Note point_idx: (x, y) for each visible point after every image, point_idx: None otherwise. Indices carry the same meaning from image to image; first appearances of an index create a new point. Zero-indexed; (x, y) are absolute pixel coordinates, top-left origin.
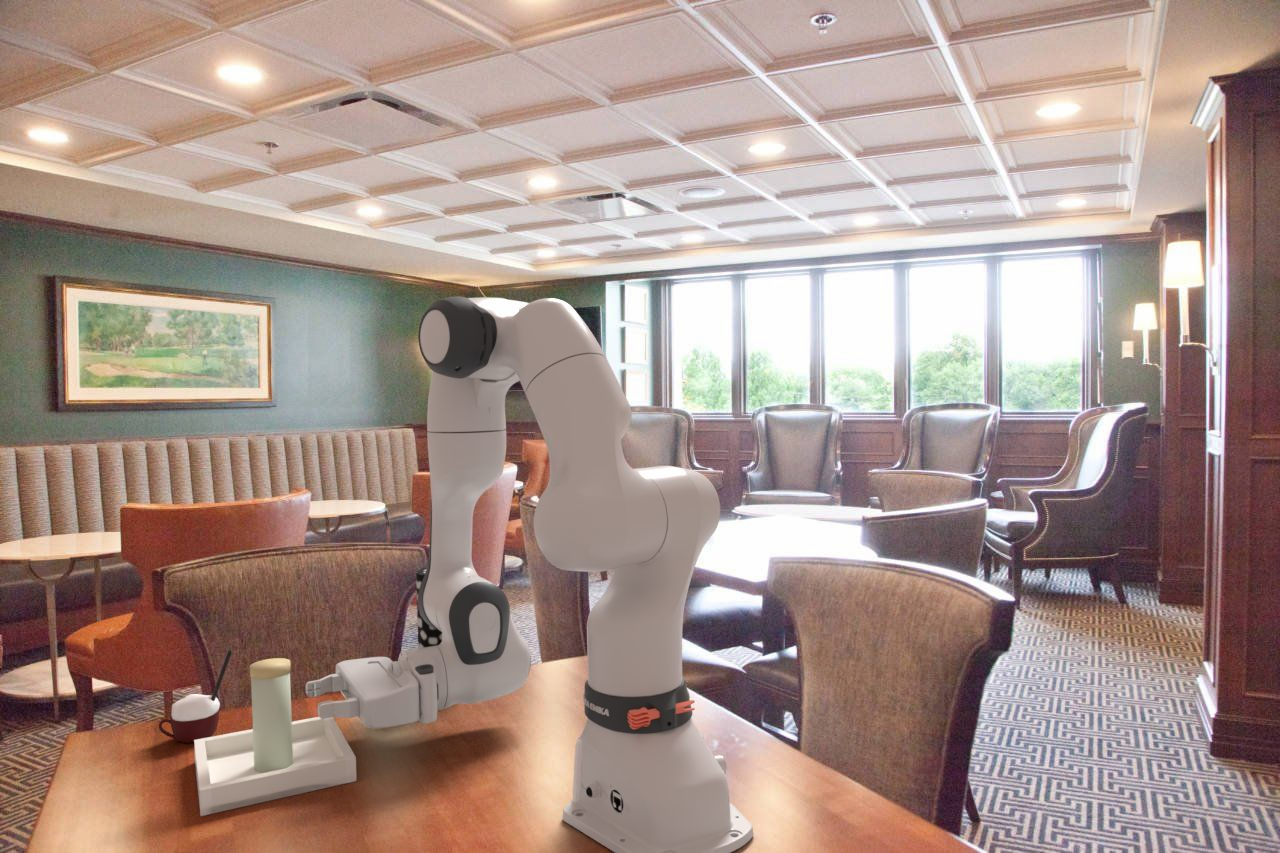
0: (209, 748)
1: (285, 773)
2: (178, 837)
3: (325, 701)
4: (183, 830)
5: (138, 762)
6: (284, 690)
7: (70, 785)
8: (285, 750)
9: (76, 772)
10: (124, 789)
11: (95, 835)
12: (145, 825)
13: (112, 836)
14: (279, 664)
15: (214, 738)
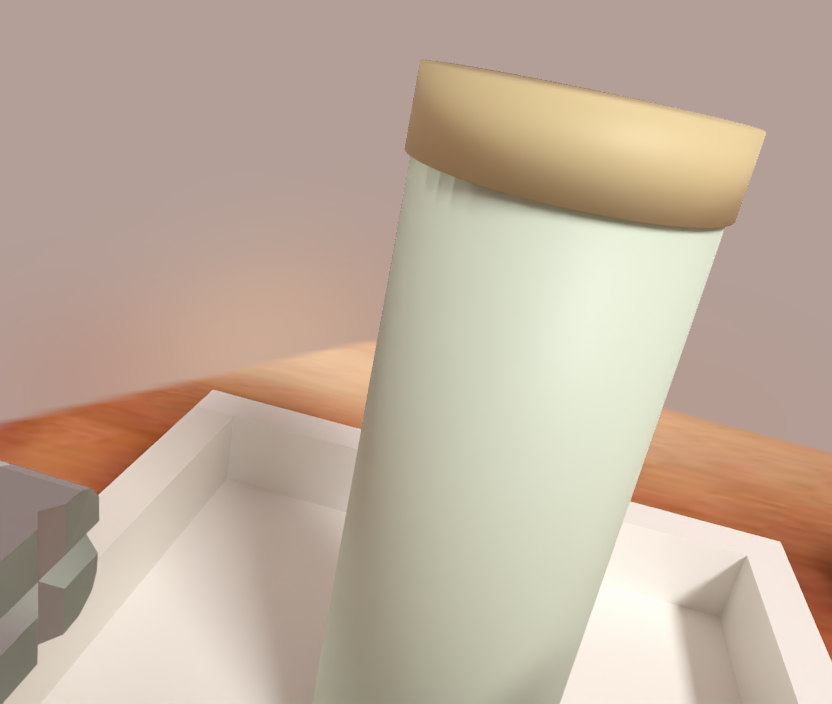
0: (735, 598)
1: None
2: (126, 411)
3: (26, 513)
4: (157, 427)
5: (819, 537)
6: (400, 302)
7: (697, 427)
8: (326, 697)
9: (790, 454)
10: None
11: (334, 366)
12: (290, 409)
13: (294, 373)
14: (518, 82)
15: (768, 585)
